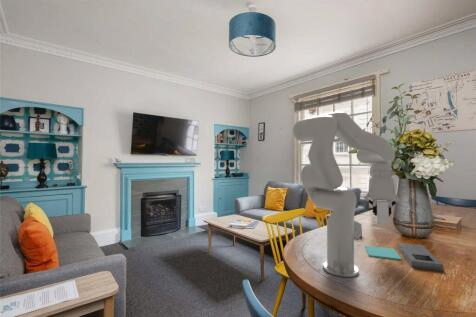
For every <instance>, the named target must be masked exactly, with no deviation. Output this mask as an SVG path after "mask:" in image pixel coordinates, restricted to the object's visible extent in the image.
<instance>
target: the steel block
mask: <svg viewBox="0 0 476 317" xmlns="http://www.w3.org/2000/svg"><path fill="white" fill-rule="evenodd" d="M376 207H377V215H376V216H375V215H374V216H375V223H376V224H377V225H381V226H389V224H390V222H389V220H390V217H389V202H387V200H377V202H376Z"/></svg>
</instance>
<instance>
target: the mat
mask: <svg viewBox="0 0 476 317" xmlns="http://www.w3.org/2000/svg"><path fill="white" fill-rule="evenodd" d="M364 248H365V250H366V253H367V255H368V257H370V258H379V259H380V258H381V259H388V260H397V261H402V257H401V256H400V255H399V253H398V252H397V251H396V250H395V248H390V247H382V246H379V247H378V246H372V245H364Z"/></svg>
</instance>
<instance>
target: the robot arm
mask: <svg viewBox="0 0 476 317" xmlns="http://www.w3.org/2000/svg"><path fill="white" fill-rule="evenodd" d="M292 133H293V134H292V135H293V136H294V138H295V139H296V140H297V141H300V142H311V145H310V147H309V150H308V156H307V157H308V161H309V163H308V164H306V165H304V166H303V168H302V169H301V171H300V172H301V173H300V181H301V184H302V186H303V188H304V190H305V192H306V194H307V196H308V198H309V200H310V202H311V203H312V204H313V206H315V207H316V208H319V209H324V210H328V211H331V214H330V215H329V216H328V219H327V221H326V247H327V248H326V255H327V256H326V260H325V261H324V262H323V263H322V269H323V270H324V271H326V272H327V273H329V274H331V275H333V276H335V277H336V276H337V277H341V278H342V277H343V278H353V277H356V276H358V275H359V273H360V269H359V267H358V266H357V265H355V238H354V220H355V212H356V207H357V202H358V199H357V198H358V197H357V195H356V193H355V192H354V191H353V190H352V189H350V188H348V187H343V186H342V185H343V182H344V178H343V174H342V172H341V170H340V167H339V164H338V163H337V160H336V158H335V155H334V152H333V146H334V140H335V137H336V138H337V139H339V140H340V141H341V142H342V143H343V144H344V145H345V146H347V147H348V148H352V149H356V150H357V152H356V158H357V160H358V162H360V163H361V164H367V165H370V164H371V176H370V177H369V182H368V192H367V193H366V195H365V196H364V197H363V199H364V201H366V202H368V203H369V204H370V205H371V206H372V214H374V215H373V216H376V215H377V207H376V202H377V200H380V201H387V202H389V218H390V217H391V215H392V208H393V207H394V206H395V205H397V203H400V202H401V198H400V197H399V195H397V194H396V186H395V185H396V184H395V180H394V178H393V176H396V172H394V171H393V170H392V162H393V161H395V158H396V151H395V149H394V147H393V146H392V145H391V143H390V142H389V141H388V140H387V139H386V138H384V137H382V136H380V135H378V134H374V133H372V132H370V131H366V130H364V129H362V128H361V126H359V125H358V123H357V122H355V120H354V119H353V118H351V116H350V115H349V114H348V113H346V112H344V111H333V112H328V113H323V114H319V115H315V116H313V117H307V118H304V119H298V120H297V121H296V122H295V124H294V125H293V128H292Z"/></svg>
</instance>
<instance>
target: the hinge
mask: <svg viewBox="0 0 476 317" xmlns="http://www.w3.org/2000/svg"><path fill="white" fill-rule="evenodd" d="M362 228H363V227H362V223H361V222H359V221H357V220H355V219H354V239H358V240H360V239H361V238H363V230H362Z"/></svg>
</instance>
